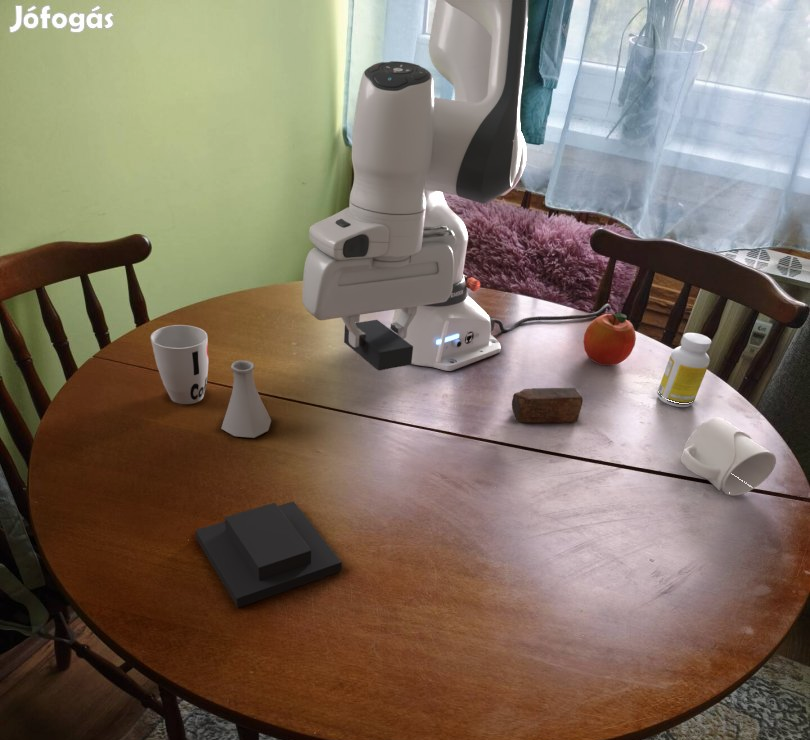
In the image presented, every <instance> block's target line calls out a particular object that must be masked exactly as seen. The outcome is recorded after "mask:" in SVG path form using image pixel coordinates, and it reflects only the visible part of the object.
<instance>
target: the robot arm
mask: <svg viewBox="0 0 810 740" xmlns="http://www.w3.org/2000/svg"><path fill="white" fill-rule="evenodd" d="M529 4H530V0H436V2H435V7H434V13H433V17H432V18H433V19H432V24H431V29H430V34H429V40H428V54H429V58H430V61H431V63H432V65H433V67H434V68H435V70H437V72H438V73H439V75H441V76H442V77H443V78H444V79H445V80H446V81H447V82H448V83H449V84H451V85H452V86H453V90H454V100H453V99H448V98H442V97H435V90H434V89H435V88H434V78H433V75H432V73H431V71H429V70H428V69H427V68H425V67H423V66H420V65H419V64H416V63H413V62H407V61H397V60H396V61H395V60H394V61H393V60H392V61H386V62H385V61H381V62H376V63H374V64H372V65H370V66H369V67H367V68H366V69H365V70H364V71H363V73H362V75H361V78H360V82H359V87H358V93H357V98H356V104H355V111H354V119H353V128H352V139H351V140H352V141H351V163H352V169H353V184H352V187H351V191H350V194H349V203H348V204H349V206H347V207H346V208H344V209H342V210H341V211H339V212H336V213H335V214H333V215H330V216H327V217H326V218H324V219H321V220H319V221H317V222H315V223H313V224H312V225H311V226H310V227H309V231H308V238H309V242H310V243H311V244H312V245H313V246H314V247H313V248H312V249H310V250H309V252H308V253H307V255H306V258H305V262H304V268H303V277H302V295H301V297H302V305H303V307H304V309H305V310H306V311H307V312H308V313H309V314H310V315H311V316H313V317H314V318H315V319H317V320H318V321H327V320H333V319H341V320H342V321H343V323H344V326H345V325H346V327H347V329H348V330H349V343H350V345H351V346H353V347H360V346H364V345H365V341H364V340H365V339H366V334H365V333H364V332H362V331H361V330H360V329H359V328H357V326H356V324H355V323H358V322H360V317H361V316H362V315H367V314H373V313H380V312H388V311H393V317H392V321H391V323H390V328H389V329H390V330H392V331H393V332H394V333H396V334H397V335H398V336H400V337H401V338H402V339H404V340H405V341H407V342H408V343H409V344H411V345H412V346H413V353H412V362H411V365H415V366H419V367H420V366H421V367H430V368H435V369H439V370H441V371H446V372H451V371H455V370H457V369H460V368H462V367H466V366H468V365H471V364H474V363H476V362H478V361H481V360H484V359H486V358H490V357H492V356H494V355H498V354H500V353H501V343H500V342H499V340H498V339H496V337H494V336H493V335H492V331H494V327H495V324H497V325H498V327H499V330H500V331H501V332H503V333H507V332H510V331H512V330H514V329H517V328H518V327H519V326H520V325H522V324H524V323H527V322H534V321H562V320H565V321H566V320H580V319H588V318H595V317H597V316H600V315H602V313H604V311H605V310H606V309H607V310H608V311H611V310H612V308H611V305H610V304H608V303H605V304H604V305H603V306H602V307H601V308H600V309H599V310H598V311H595V312H590V313H585V314H573V315H572V314H571V315H560V316H559V315H547V316H545V315H542V316H541V315H540V316H530V317H525V318H522V319H520V320H518V321H517V322H515V323H514V324H513V325H511V326H510V327H504V324H503V322H502V320H501V319H498V318H496V317H495V318H494V317H492V316H490V315H489V314H487V312H486V311H485V310H484V309H483V308H482V306H480V305H479V304H478V303H477V302H476V301H475V300H474V299H472V297H470V295H469V293H468V289H469V290H470V291H472V292H474V293H476V292H478V291H479V290H480V288H481V282H480V281H479V280H478V279H475V278H474V277H468V276H467V275H465V274H464V269H465V262H466V255H467V247H468V243H469V235H468V231H467V227H466V225H465V223H464V221H463V220H462V218H461V217H460V216H459V215H457V213H455V212H454V211H453V210H452V209H451V208H450V206H449V205H448V204H447V201H446V200H445V196H444V194H448V195H455V196H457V197H458V198H461V199H464V200H469V201H472V202H476V203H479V204H483V205H486V204H488V203H490V202H493V201H494V200H496V199H497V198H499V197H504V196H506V195H507V194H508V193H510V192H511V191H512V190H513V189H514V188H515V187H516V186H517V184H518V183H519V181H520V180H521V178H522V176H523V173H524V171H525V168H526V163H527V157H528V156H527V144H526V140H525V138H524V135H523V132H522V131H521V130H522V129H521V109H522V108H521V107H522V98H523V94H522V93H523V87H524V86H523V85H524V75H525V74H524V73H525V61H526V51H527V39H528V38H527V37H528V23H529V22H528V21H529V9H530V8H529V7H530V5H529Z"/></svg>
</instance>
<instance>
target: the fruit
mask: <svg viewBox="0 0 810 740" xmlns="http://www.w3.org/2000/svg"><path fill="white" fill-rule="evenodd" d="M636 340H637V336H636V330H635V328H634V325H633V323H632V322H631V321H630V320H627V315H626V314H624V313H621V312H619V313H618V312H617V311H616V312H614V313H612V314H611V313H605V314H600V315H598V317H597V316H596V318H595V319H593V320H592V322H591V323H590V324H589V325H588V327H587V328H586V330H585V332H584V335H583V342H582V343H583V347H584V348H583V349H584V352H585V354H586V356H587V357H588V358H589V359H590V360H591V361H593V362H594V363H596V364H599V365H602V366H614V365H619V364H620V363H622V362H624V361H625V360H627V359H628V357H629V356H630V355H631V353H632V352H633V350H634V348H635V345H636Z"/></svg>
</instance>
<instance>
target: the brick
mask: <svg viewBox="0 0 810 740" xmlns="http://www.w3.org/2000/svg"><path fill="white" fill-rule="evenodd" d="M583 403H584V397H583V396H582V395H581V393H580V392H579V390H578V389H577V388H576V387H537V388H536V387H535V388H534V387H533V388H523V389H522V390H520V391H518V392H515V393H514V394H513V396H512V399H511V409H512V414H513V416H514V419H515V421H516V422H519V423H523V424H567V423H576V422H578V420H579V418H580V413H581V411H582V406H583Z"/></svg>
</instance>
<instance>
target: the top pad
mask: <svg viewBox="0 0 810 740" xmlns="http://www.w3.org/2000/svg"><path fill="white" fill-rule="evenodd" d="M355 324H356V326H357V328H359V329H360V330H361V331H362V332H364V333H365V334H366V339H365V340H364V341H365V345H364V346H360V347H353V346H351V345H350V343H349V330H348V329H347V327H346V325H345V324H344V335H343V337H344V338H343V343H344V344H345V345H347V346H348V347H349V348H350V349H351V350H352V351H354V352H355V353H356V354H357V355H359V357H361V358H362V359H364V360H365V361H366V362H367V363H369V364H370V365H371V367H373V368H374V369H375V370H376V371H378V372H379V371H385V370H389V369H395V368H400V367H406V366H411V365H412V364H411V362H412V353H413V346H412V345H411V344H409V343H408V342H407V341H405V340H404V339H402V338H401V337H400V336H398V335H397V334H396V333H394V332H393V331H392V330H390V328H389V327H388V326H386V325H385V324H384V323H382V322H381V321H380V320H379V319H372V320H365V321H359V322H358V323H356V322H355Z"/></svg>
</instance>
